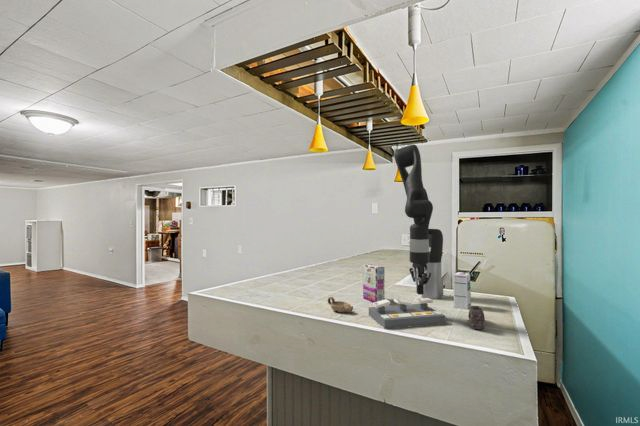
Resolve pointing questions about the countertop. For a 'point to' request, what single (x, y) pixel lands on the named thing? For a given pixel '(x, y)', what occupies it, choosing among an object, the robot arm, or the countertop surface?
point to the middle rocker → (402, 302)
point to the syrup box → (462, 290)
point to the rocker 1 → (381, 303)
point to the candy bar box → (373, 282)
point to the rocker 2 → (423, 300)
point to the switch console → (406, 315)
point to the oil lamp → (340, 306)
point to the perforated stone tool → (476, 317)
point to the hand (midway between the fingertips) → (420, 293)
